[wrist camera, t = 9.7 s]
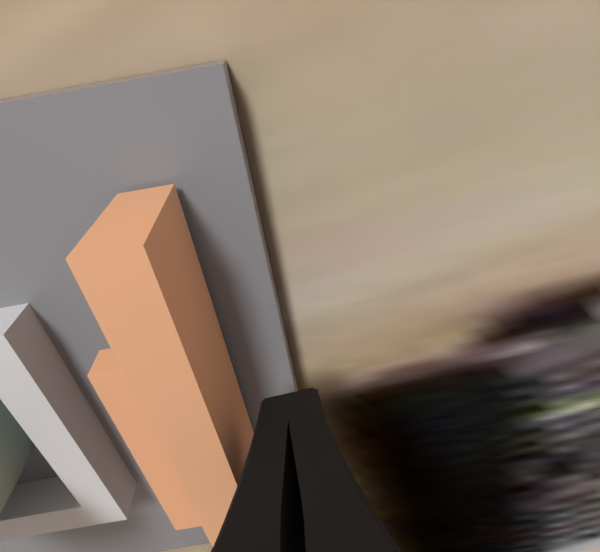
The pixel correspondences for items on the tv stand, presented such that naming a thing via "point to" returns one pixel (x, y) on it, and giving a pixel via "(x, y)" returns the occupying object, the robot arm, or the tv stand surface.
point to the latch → (164, 356)
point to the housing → (76, 311)
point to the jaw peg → (11, 453)
